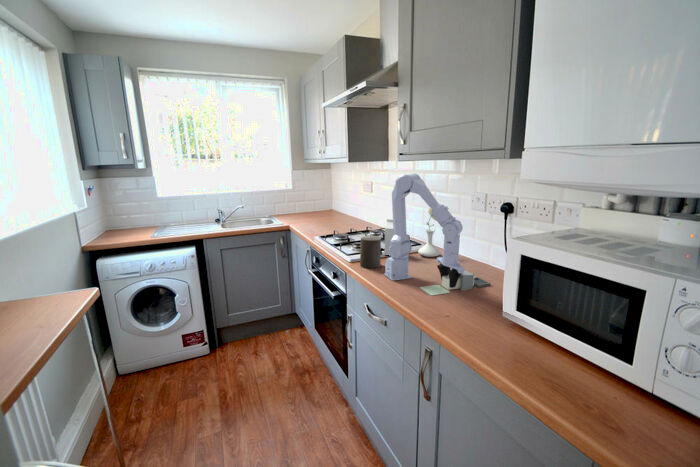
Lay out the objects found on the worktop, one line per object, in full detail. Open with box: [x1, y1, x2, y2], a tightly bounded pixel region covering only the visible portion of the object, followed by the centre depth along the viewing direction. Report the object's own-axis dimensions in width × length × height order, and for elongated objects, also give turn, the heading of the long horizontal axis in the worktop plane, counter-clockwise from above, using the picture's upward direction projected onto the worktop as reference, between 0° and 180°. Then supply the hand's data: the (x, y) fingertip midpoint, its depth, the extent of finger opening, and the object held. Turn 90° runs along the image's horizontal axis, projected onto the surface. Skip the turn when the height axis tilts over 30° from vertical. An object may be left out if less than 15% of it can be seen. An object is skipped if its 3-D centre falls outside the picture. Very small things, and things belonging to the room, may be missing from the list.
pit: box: [473, 276, 491, 288], centre depth 130 cm, size 6×7×1 cm
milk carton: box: [383, 219, 394, 257], centre depth 168 cm, size 7×7×19 cm
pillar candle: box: [359, 235, 382, 270], centre depth 151 cm, size 10×10×15 cm
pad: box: [419, 284, 451, 297], centre depth 124 cm, size 8×8×1 cm
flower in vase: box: [417, 207, 441, 258], centre depth 166 cm, size 13×11×25 cm
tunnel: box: [450, 268, 475, 291], centre depth 127 cm, size 5×8×6 cm, turn 20°
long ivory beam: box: [441, 275, 476, 291], centre depth 127 cm, size 12×4×4 cm, turn 110°
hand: (448, 284), depth 126 cm, fingers closed on long ivory beam, 4 cm apart
